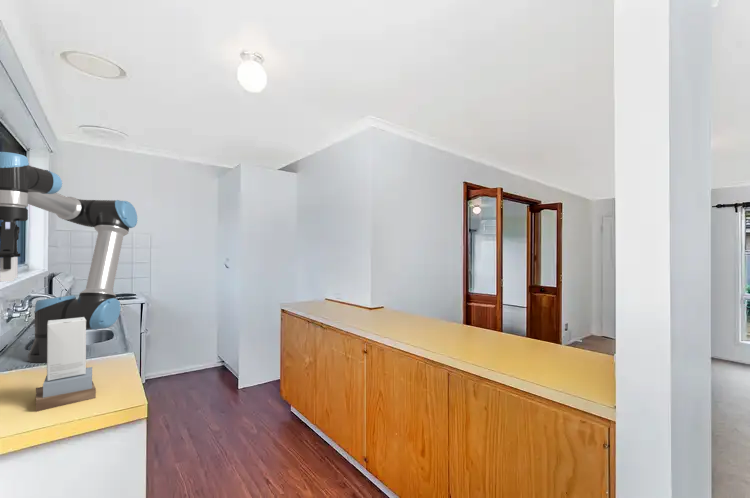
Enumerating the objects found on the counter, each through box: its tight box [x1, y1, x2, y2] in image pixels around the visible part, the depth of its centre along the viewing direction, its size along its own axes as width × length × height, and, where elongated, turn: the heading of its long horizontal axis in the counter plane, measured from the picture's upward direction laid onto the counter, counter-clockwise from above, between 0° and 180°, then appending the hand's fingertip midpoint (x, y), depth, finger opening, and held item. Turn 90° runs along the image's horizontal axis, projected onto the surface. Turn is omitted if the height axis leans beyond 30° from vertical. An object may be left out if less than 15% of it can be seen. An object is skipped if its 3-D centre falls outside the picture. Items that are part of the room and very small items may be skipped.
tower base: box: [35, 380, 97, 413], centre depth 98 cm, size 12×12×4 cm
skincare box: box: [46, 317, 87, 381], centre depth 98 cm, size 8×7×16 cm
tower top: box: [42, 366, 93, 398], centre depth 99 cm, size 10×10×4 cm
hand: (9, 279), depth 102 cm, fingers open, 13 cm apart
